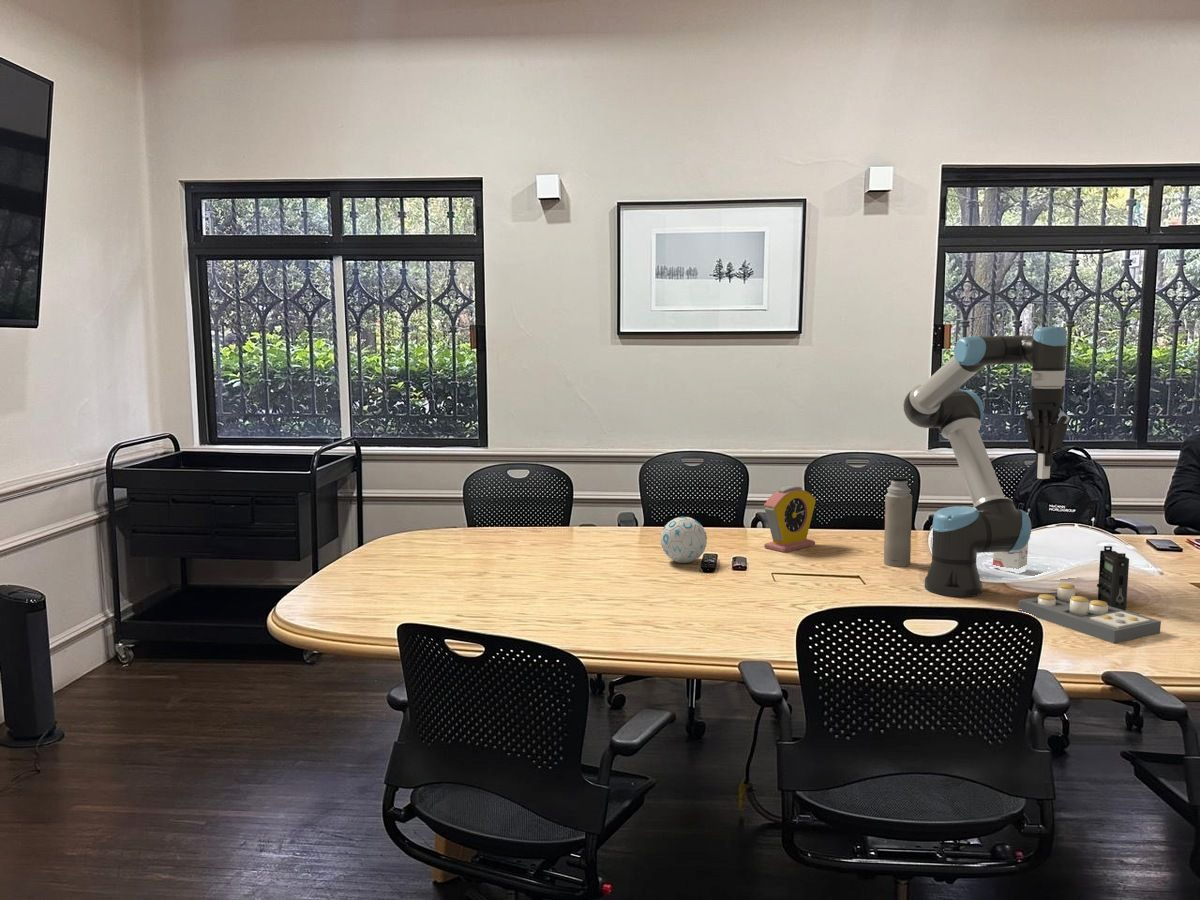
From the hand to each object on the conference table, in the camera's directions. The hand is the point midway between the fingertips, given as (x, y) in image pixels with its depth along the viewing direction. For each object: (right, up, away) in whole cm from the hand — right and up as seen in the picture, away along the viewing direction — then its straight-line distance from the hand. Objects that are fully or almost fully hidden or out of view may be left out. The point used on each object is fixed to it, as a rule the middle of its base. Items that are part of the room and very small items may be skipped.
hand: (1043, 478), depth 213 cm
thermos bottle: (-20, -29, +49) cm, 61 cm away
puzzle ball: (-88, -30, +56) cm, 108 cm away
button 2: (+6, -32, 0) cm, 33 cm away
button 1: (-1, -34, -2) cm, 35 cm away
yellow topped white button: (+9, -35, -8) cm, 37 cm away
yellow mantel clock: (-49, -27, +74) cm, 93 cm away
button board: (+6, -36, -9) cm, 37 cm away
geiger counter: (+20, -34, +4) cm, 40 cm away
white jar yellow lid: (+3, -33, -11) cm, 35 cm away
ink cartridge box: (+11, -30, +39) cm, 51 cm away
